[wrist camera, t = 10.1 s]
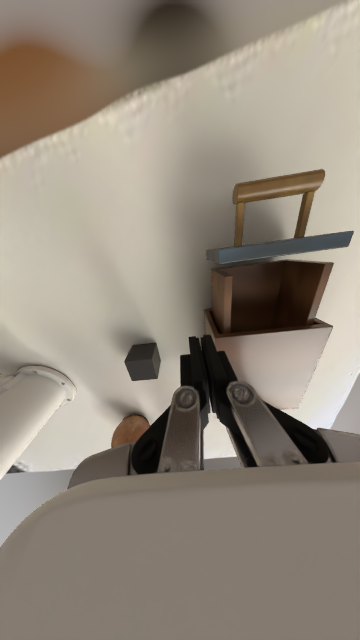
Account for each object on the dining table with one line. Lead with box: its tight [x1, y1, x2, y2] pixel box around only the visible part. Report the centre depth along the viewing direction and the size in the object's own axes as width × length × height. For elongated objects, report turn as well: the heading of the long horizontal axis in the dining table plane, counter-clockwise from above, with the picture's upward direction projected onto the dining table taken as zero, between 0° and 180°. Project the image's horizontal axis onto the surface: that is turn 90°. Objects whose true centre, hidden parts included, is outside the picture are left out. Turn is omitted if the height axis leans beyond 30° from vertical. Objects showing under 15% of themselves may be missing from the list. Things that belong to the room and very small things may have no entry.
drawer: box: [206, 169, 354, 334], centre depth 16 cm, size 18×11×7 cm, turn 7°
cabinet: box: [204, 309, 333, 410], centre depth 22 cm, size 14×12×8 cm
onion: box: [111, 415, 150, 448], centre depth 33 cm, size 10×9×10 cm
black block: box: [124, 343, 161, 381], centre depth 25 cm, size 5×5×4 cm
